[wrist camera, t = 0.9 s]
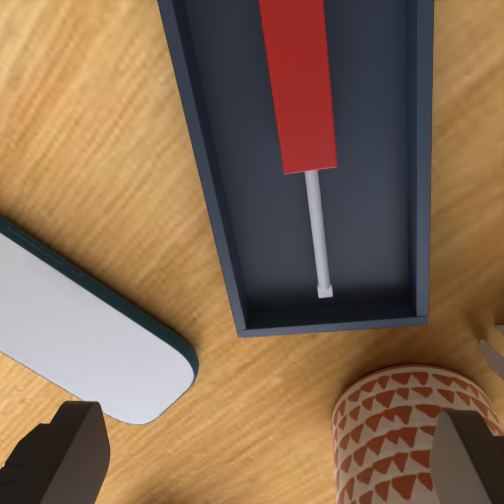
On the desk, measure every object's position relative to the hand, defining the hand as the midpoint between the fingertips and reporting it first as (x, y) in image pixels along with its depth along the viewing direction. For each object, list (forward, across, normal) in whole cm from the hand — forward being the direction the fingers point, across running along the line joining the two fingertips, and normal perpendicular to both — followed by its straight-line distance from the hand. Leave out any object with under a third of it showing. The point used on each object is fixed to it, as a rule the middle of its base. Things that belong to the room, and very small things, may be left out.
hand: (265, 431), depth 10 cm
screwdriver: (+20, -2, -3) cm, 20 cm away
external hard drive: (+23, +18, +12) cm, 31 cm away
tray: (+20, -2, -3) cm, 21 cm away
